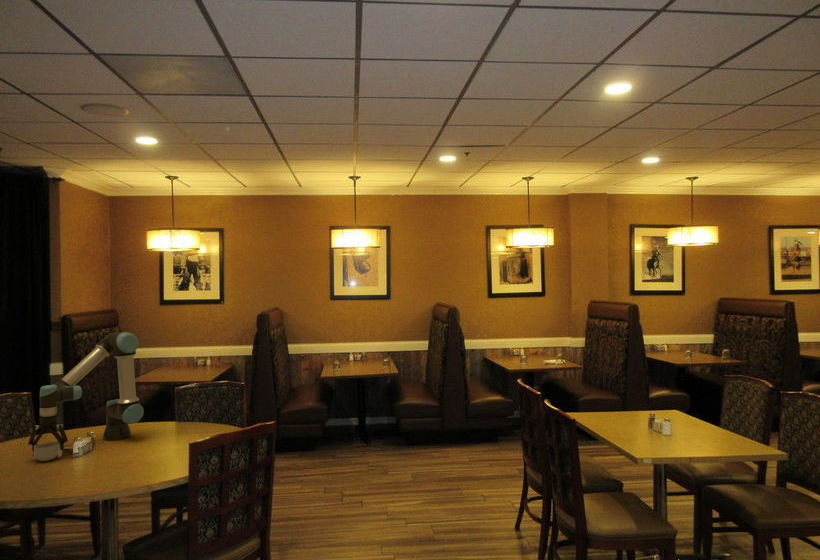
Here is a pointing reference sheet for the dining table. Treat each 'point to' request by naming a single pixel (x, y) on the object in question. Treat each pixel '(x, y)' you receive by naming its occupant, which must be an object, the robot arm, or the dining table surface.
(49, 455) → the teacup
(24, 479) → the dining table surface
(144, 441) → the dining table surface
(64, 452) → the stop bar
